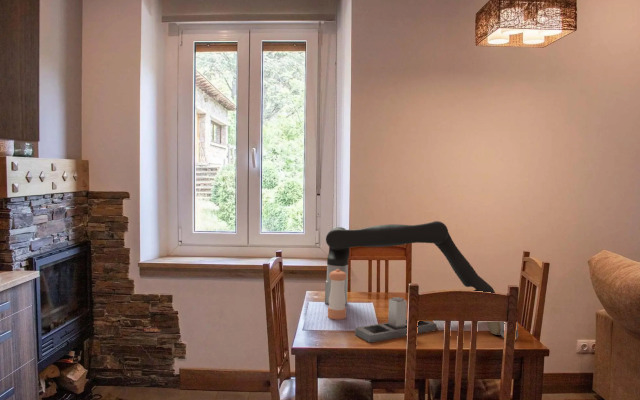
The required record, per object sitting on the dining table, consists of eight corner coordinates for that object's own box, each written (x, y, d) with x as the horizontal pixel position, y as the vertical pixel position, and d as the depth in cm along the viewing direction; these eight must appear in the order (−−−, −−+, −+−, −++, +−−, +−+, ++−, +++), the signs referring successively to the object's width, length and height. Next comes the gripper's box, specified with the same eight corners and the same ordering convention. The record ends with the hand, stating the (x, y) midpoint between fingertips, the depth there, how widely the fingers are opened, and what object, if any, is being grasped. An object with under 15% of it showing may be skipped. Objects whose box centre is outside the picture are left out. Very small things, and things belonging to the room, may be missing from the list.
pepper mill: (324, 317, 189) (325, 269, 188) (332, 313, 196) (333, 266, 195) (341, 320, 186) (342, 271, 185) (348, 315, 192) (350, 268, 191)
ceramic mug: (485, 332, 177) (486, 311, 176) (504, 330, 179) (505, 310, 179) (504, 342, 167) (506, 321, 166) (524, 340, 169) (525, 319, 168)
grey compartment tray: (369, 342, 162) (370, 335, 162) (355, 334, 170) (355, 327, 170) (436, 330, 177) (436, 323, 177) (420, 323, 185) (420, 317, 185)
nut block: (395, 335, 171) (396, 300, 170) (387, 331, 175) (389, 297, 174) (405, 333, 173) (406, 299, 172) (397, 329, 177) (398, 296, 176)
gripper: (440, 287, 192) (408, 291, 184) (466, 295, 180) (434, 300, 172) (439, 305, 193) (407, 310, 185) (466, 315, 180) (433, 321, 172)
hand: (420, 305), depth 178 cm, fingers open, 8 cm apart
